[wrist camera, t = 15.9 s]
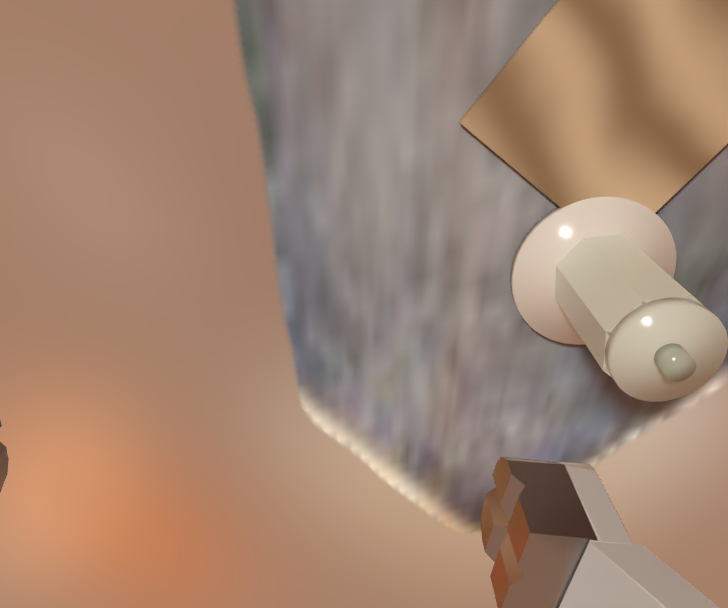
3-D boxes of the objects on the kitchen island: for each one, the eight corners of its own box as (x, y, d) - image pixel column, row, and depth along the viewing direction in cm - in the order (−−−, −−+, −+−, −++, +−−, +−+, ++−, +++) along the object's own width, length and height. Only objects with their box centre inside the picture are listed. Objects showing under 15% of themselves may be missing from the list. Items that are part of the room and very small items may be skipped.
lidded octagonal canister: (604, 218, 37) (692, 295, 27) (662, 269, 39) (765, 360, 29) (537, 283, 39) (596, 377, 29) (595, 329, 41) (669, 433, 31)
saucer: (595, 160, 36) (600, 163, 36) (703, 257, 39) (710, 262, 39) (477, 284, 40) (479, 289, 40) (584, 363, 43) (588, 369, 43)
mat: (668, -135, 29) (671, -136, 29) (822, 47, 33) (827, 48, 33) (459, 121, 35) (460, 123, 35) (611, 250, 39) (613, 252, 39)
